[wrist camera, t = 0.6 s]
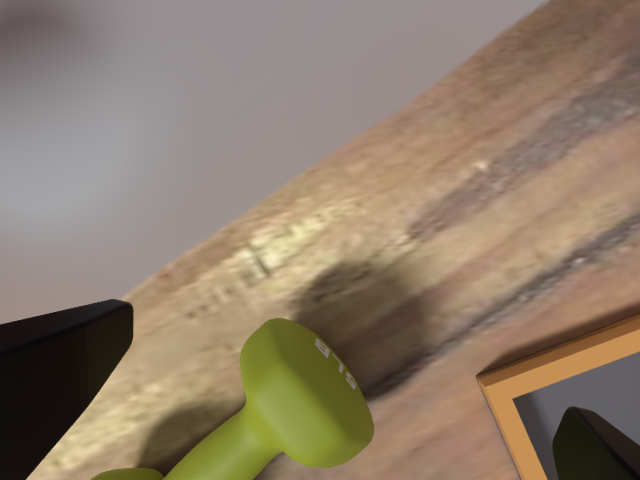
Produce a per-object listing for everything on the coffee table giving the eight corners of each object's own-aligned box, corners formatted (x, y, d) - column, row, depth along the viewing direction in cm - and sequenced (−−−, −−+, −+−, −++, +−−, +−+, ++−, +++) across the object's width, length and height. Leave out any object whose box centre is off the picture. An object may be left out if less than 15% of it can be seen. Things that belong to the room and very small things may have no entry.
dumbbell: (297, 296, 25) (270, 314, 18) (387, 402, 25) (396, 464, 18) (99, 470, 26) (-1, 551, 19) (179, 576, 26) (107, 702, 19)
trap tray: (566, 585, 23) (584, 616, 21) (475, 375, 24) (485, 387, 22) (792, 511, 22) (834, 537, 20) (689, 294, 23) (719, 298, 21)
